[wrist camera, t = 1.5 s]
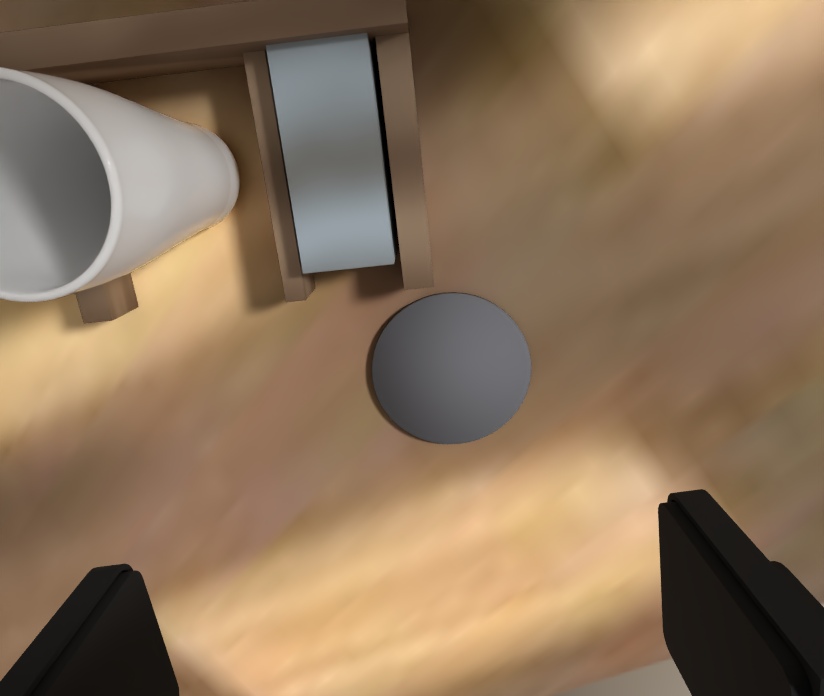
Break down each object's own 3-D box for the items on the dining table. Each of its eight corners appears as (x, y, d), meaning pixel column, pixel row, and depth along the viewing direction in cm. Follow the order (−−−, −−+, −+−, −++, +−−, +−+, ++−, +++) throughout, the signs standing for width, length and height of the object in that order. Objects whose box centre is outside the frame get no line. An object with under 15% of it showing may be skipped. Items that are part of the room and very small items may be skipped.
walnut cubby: (46, 55, 30) (-25, 35, 25) (406, 10, 29) (403, -19, 24) (112, 309, 34) (61, 334, 29) (432, 275, 33) (434, 295, 28)
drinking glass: (273, 226, 32) (156, 278, 18) (154, 255, 33) (-51, 328, 19) (233, 93, 30) (67, 32, 16) (108, 126, 31) (-162, 96, 17)
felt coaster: (362, 301, 33) (362, 302, 33) (525, 284, 33) (526, 285, 33) (382, 447, 36) (382, 450, 36) (533, 433, 36) (535, 436, 35)
